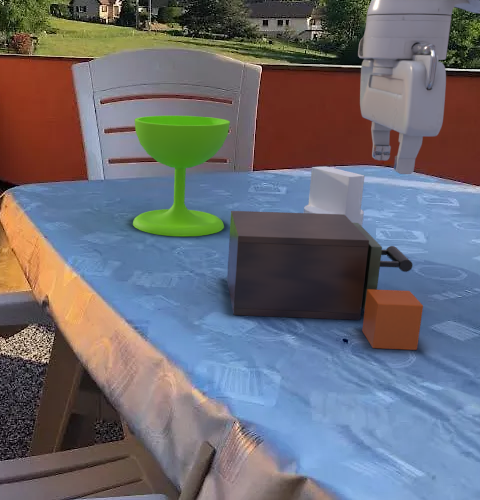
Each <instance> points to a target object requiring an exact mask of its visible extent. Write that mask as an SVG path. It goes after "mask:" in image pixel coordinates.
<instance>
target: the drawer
mask: <svg viewBox="0 0 480 500" xmlns="http://www.w3.org/2000/svg"><path fill="white" fill-rule="evenodd" d="M353 224H354V225H355V226H356V227H357V228H358V229H359V230H360V231H361V232H362V234H363V235H364V236H365V237H366V238H367V239H368V240H369V246H368V254H367V263H366V271H365V280H364V289H363V297H362V306H361V310H363V311H365V303H366V294H367V289H374V290H378V286H379V277H380V269H381V268H398V269H399V270H400V271H401V272H404V273H407V272H409V271H411V270H412V268H413V262H412V261H411V260H410V259H409V258H408V257H407V256H406V255H405V254H404V253H403V252H402V251H400V249H399V248H397V246H394V245H390V246H388V247H387V248H386V249H383V246H382V245H381V244H380V243H379V242H378V241H377V240H376V239H375V238H374V237H373V236H372V235H371V234H370V233H369V232H368V231H367V230H366V229H365V228H364V227H363V225H362V226H361V225H360V224H359V223H353ZM382 256H386V257H388V259H390V260H381V259H382Z"/></svg>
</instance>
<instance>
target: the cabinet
mask: <svg viewBox="0 0 480 500" xmlns="http://www.w3.org/2000/svg"><path fill="white" fill-rule="evenodd" d="M229 221H230V222H229V238H228V239H229V240H228V241H229V242H228V256H227V260H228V261H227V271H226V273H227V274H226V282H227V283H226V284H227V287H228V292H229V298H230V304H231V309H232V314H233V316H254V317H277V318H278V317H279V318H299V319H300V318H301V319H326V320H327V319H328V320H350V321H351V320H353V321H360V320H361V315H362V314H361V313H362V307H361V306H362V297H363V289H364V280H365V271H366V263H367V254H368V246H369V240H368V239H367V238H366V237H365V236H364V235H363V234H362V232H361V231H360V230H359V229H358V228H357V227H356V226H355V225H354V224H353V223H352V222H351V221H350V220H349V219H348V218H347V217H346V216H345V215H344V214H315V213H304V212H284V211H283V212H282V211H281V212H280V211H279V212H278V211H251V210H250V211H249V210H230V220H229Z"/></svg>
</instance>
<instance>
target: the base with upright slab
mask: <svg viewBox="0 0 480 500" xmlns="http://www.w3.org/2000/svg"><path fill="white" fill-rule="evenodd" d="M364 182H365V174H360V173H356V172H352V171H347V170H343V169H340V168H335V167H331V166H312V167H311V173H310V183H309V194H308V204H307V205H306V204H305V206H304V207H303V213H315V214H344V215H345V216H346V217H347V218H348V219H349V220H350V221H351V222H352V223H359V224H360V225H361V226H362V227H363V225H364V224H363V223H364V214H365V212H364V210H363V209H362V201H363V193H364V184H365V183H364Z"/></svg>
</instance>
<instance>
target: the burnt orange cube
mask: <svg viewBox="0 0 480 500" xmlns="http://www.w3.org/2000/svg"><path fill="white" fill-rule="evenodd" d="M423 310H424V304H422V303H421V301H420V300H419V299H418V298H417V297H416V296H415V295H414V294H413V293H412V291H410V290H399V289H377V290H374V289H367V294H366V303H365V311H364V310H363V311H364V313H363V319H362V320H363V321H362V328H361V329H362V330H361V332H362V333H363V335H364V336H365V338H366V340H367V342H368V343H369V344H370V346H371V348H372V349H385V350H386V349H387V350H408V351H417V350H418V345H419V338H420V331H421V324H422V316H423Z"/></svg>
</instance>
